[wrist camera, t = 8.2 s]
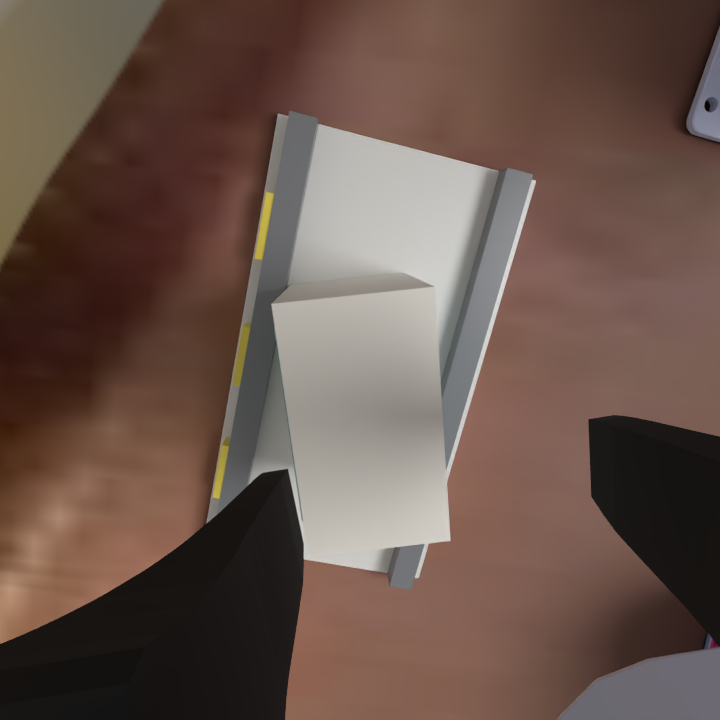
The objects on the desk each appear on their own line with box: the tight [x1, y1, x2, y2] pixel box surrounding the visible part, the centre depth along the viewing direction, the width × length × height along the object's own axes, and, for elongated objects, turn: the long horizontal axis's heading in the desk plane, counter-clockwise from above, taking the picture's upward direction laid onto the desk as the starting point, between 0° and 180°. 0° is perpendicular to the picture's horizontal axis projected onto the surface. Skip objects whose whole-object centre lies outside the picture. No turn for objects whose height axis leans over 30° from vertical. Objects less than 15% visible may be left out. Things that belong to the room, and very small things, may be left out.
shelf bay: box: [206, 111, 536, 590], centre depth 20 cm, size 18×10×1 cm, turn 167°
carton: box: [271, 273, 450, 558], centre depth 17 cm, size 5×8×6 cm, turn 6°
